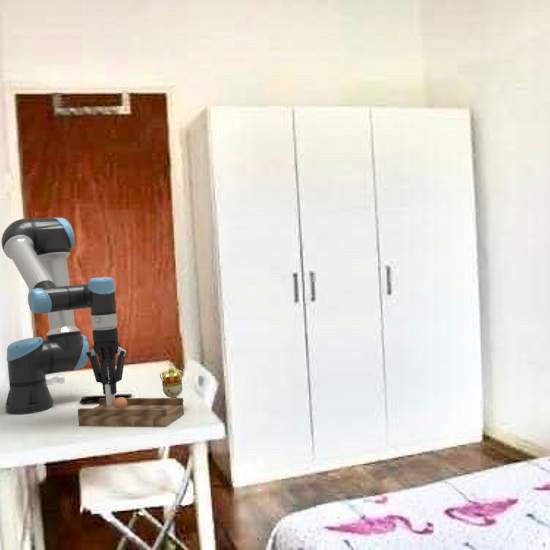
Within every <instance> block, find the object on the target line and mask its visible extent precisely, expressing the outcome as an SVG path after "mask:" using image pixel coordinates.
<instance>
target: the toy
mask: <svg viewBox="0 0 550 550" xmlns="http://www.w3.org/2000/svg"><path fill="white" fill-rule="evenodd" d="M168 366H170V367H169V369H168V370H164V371H161V373H160V374H159V377H160V379H161V381H162V382H161V386H162V393H163V394H164V395H165V396H166V398H179V396H180V395H181V394H182V392H183V381H182V380H183V379H182V378H183V376H184V372H183V371H182V370H181V369H180V370H179V369H175V368H172V362H171V363H169V364H168ZM167 374H168V376H167ZM175 374H176V375H175ZM183 403H184V399H183Z"/></svg>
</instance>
